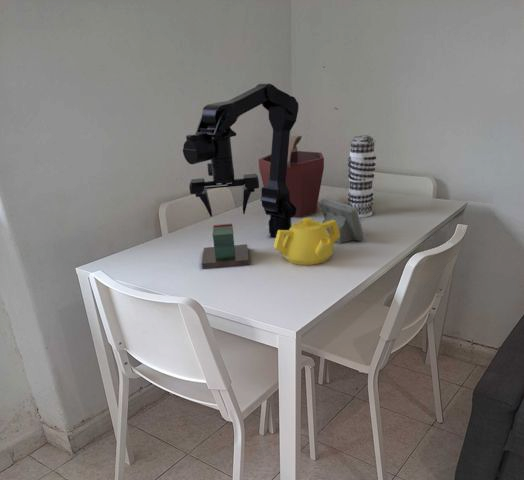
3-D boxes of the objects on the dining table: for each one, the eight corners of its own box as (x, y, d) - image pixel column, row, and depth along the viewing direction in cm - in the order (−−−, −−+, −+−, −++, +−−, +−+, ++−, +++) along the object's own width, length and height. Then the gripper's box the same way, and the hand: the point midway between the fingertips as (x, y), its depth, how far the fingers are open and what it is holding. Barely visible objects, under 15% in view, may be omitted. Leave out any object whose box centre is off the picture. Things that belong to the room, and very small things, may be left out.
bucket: (281, 200, 193) (278, 131, 180) (335, 203, 184) (336, 131, 171) (253, 218, 175) (247, 142, 162) (311, 223, 166) (310, 143, 153)
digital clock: (366, 242, 147) (368, 206, 142) (339, 247, 145) (340, 211, 139) (340, 227, 160) (341, 194, 155) (315, 232, 158) (315, 198, 152)
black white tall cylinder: (373, 209, 175) (377, 133, 162) (373, 217, 167) (377, 138, 154) (347, 210, 176) (348, 134, 163) (346, 217, 169) (348, 139, 156)
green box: (235, 258, 138) (232, 232, 134) (215, 259, 138) (212, 234, 134) (234, 247, 146) (232, 223, 142) (215, 248, 146) (213, 224, 142)
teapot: (293, 278, 128) (292, 236, 122) (265, 256, 142) (262, 218, 136) (359, 262, 134) (361, 222, 128) (325, 243, 148) (326, 206, 143)
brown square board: (247, 249, 148) (247, 244, 148) (249, 265, 137) (248, 259, 137) (204, 252, 148) (203, 247, 147) (202, 268, 137) (201, 263, 136)
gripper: (254, 148, 138) (258, 204, 146) (188, 154, 138) (196, 209, 146) (256, 156, 129) (261, 215, 137) (185, 162, 128) (194, 221, 137)
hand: (227, 215), depth 139 cm, fingers open, 9 cm apart
